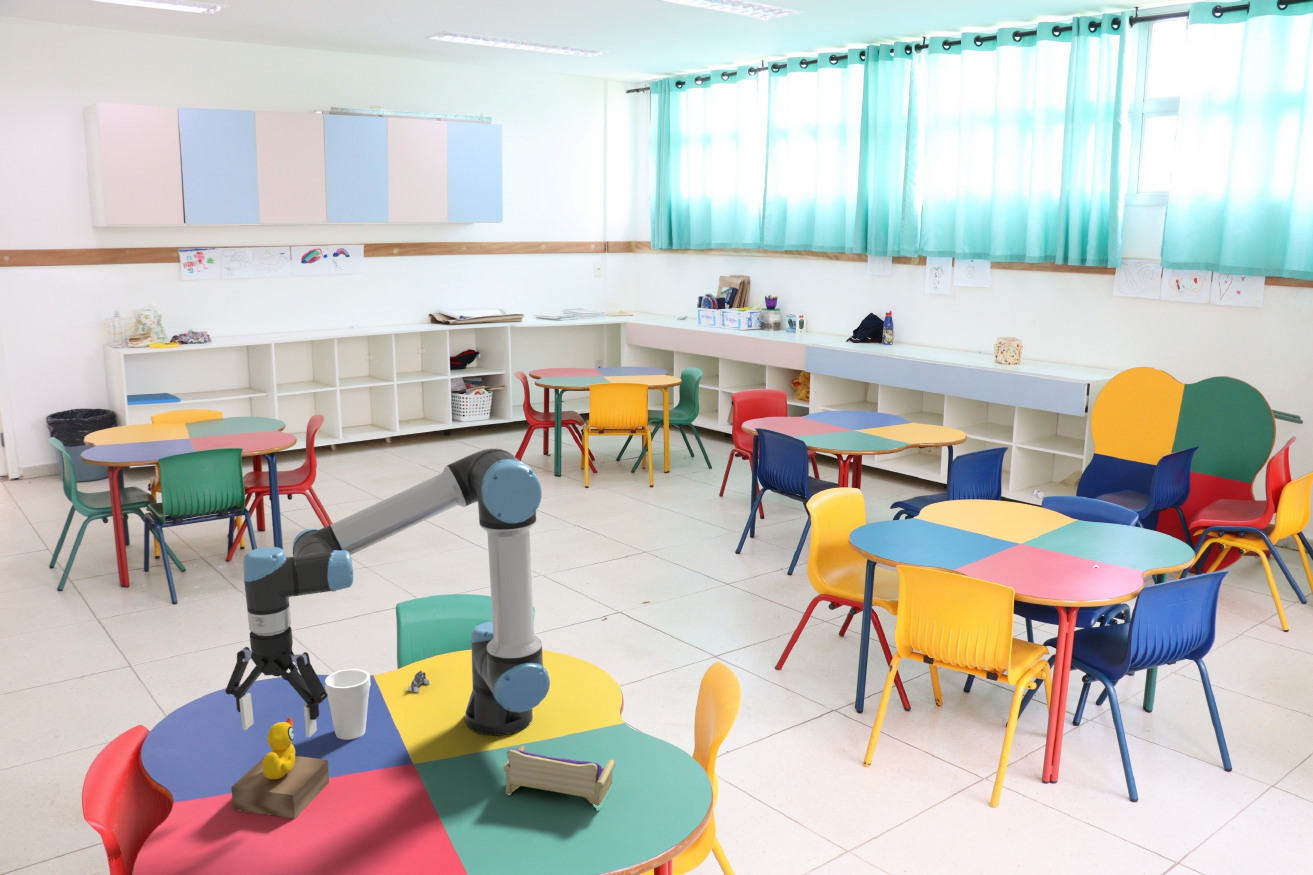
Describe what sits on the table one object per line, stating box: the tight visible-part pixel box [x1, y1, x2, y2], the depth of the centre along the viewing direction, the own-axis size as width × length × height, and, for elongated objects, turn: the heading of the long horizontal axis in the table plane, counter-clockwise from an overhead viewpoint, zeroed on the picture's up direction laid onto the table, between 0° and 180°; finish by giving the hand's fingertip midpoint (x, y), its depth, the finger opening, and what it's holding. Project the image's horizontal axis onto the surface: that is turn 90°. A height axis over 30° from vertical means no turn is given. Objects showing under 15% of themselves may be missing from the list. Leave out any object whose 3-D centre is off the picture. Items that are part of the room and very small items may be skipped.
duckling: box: [263, 717, 296, 779], centre depth 200 cm, size 11×5×10 cm, turn 178°
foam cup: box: [324, 668, 371, 741], centre depth 225 cm, size 10×9×13 cm
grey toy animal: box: [407, 670, 430, 694], centre depth 252 cm, size 15×7×4 cm, turn 160°
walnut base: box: [231, 755, 330, 820], centre depth 202 cm, size 13×13×5 cm
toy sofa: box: [502, 744, 616, 806], centre depth 204 cm, size 21×9×10 cm, turn 75°
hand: (279, 730), depth 199 cm, fingers open, 13 cm apart
